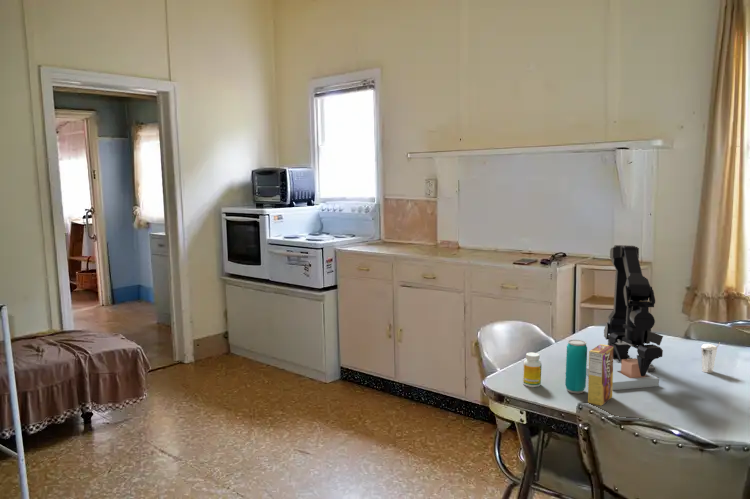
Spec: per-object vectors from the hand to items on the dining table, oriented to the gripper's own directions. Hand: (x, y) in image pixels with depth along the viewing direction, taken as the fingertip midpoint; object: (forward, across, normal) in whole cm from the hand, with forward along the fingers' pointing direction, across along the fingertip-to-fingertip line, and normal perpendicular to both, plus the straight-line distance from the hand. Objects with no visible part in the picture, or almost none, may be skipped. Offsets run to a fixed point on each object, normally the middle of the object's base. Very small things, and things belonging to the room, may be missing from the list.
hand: (633, 371), depth 189 cm
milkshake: (+3, +2, -30) cm, 30 cm away
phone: (+3, +12, -10) cm, 16 cm away
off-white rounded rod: (+3, +5, -7) cm, 9 cm away
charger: (+3, 0, 0) cm, 3 cm away
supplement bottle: (+3, +4, +32) cm, 32 cm away
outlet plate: (+3, +2, +3) cm, 5 cm away
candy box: (+3, -12, +19) cm, 23 cm away
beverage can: (+3, -4, +22) cm, 23 cm away
